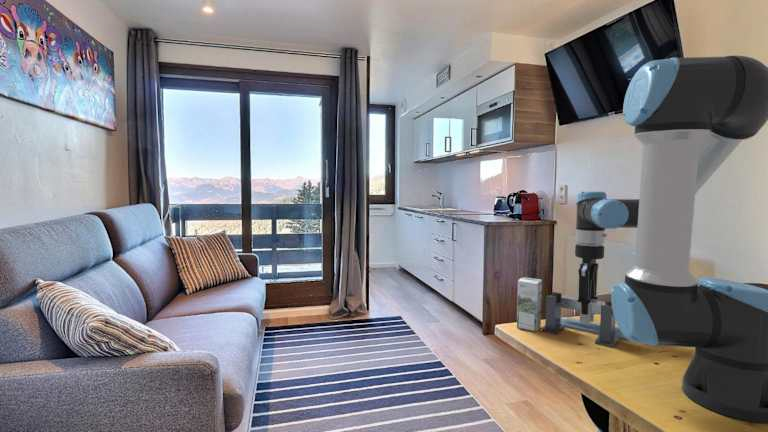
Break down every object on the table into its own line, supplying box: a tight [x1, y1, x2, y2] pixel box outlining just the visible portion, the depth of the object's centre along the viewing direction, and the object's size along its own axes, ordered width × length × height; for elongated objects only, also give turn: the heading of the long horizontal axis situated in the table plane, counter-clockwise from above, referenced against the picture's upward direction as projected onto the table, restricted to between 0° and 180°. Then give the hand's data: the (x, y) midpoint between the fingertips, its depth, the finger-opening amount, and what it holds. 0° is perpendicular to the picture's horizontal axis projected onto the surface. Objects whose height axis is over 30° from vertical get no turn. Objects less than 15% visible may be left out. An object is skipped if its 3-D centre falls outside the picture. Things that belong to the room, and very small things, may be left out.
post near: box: [594, 300, 620, 348], centre depth 106 cm, size 7×4×10 cm, turn 140°
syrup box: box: [516, 276, 543, 333], centre depth 116 cm, size 6×6×14 cm
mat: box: [561, 315, 627, 341], centre depth 117 cm, size 8×21×1 cm, turn 50°
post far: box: [540, 291, 565, 336], centre depth 115 cm, size 7×4×10 cm, turn 140°
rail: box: [550, 294, 605, 316], centre depth 116 cm, size 4×20×3 cm, turn 50°
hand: (586, 322), depth 117 cm, fingers closed on rail, 3 cm apart
